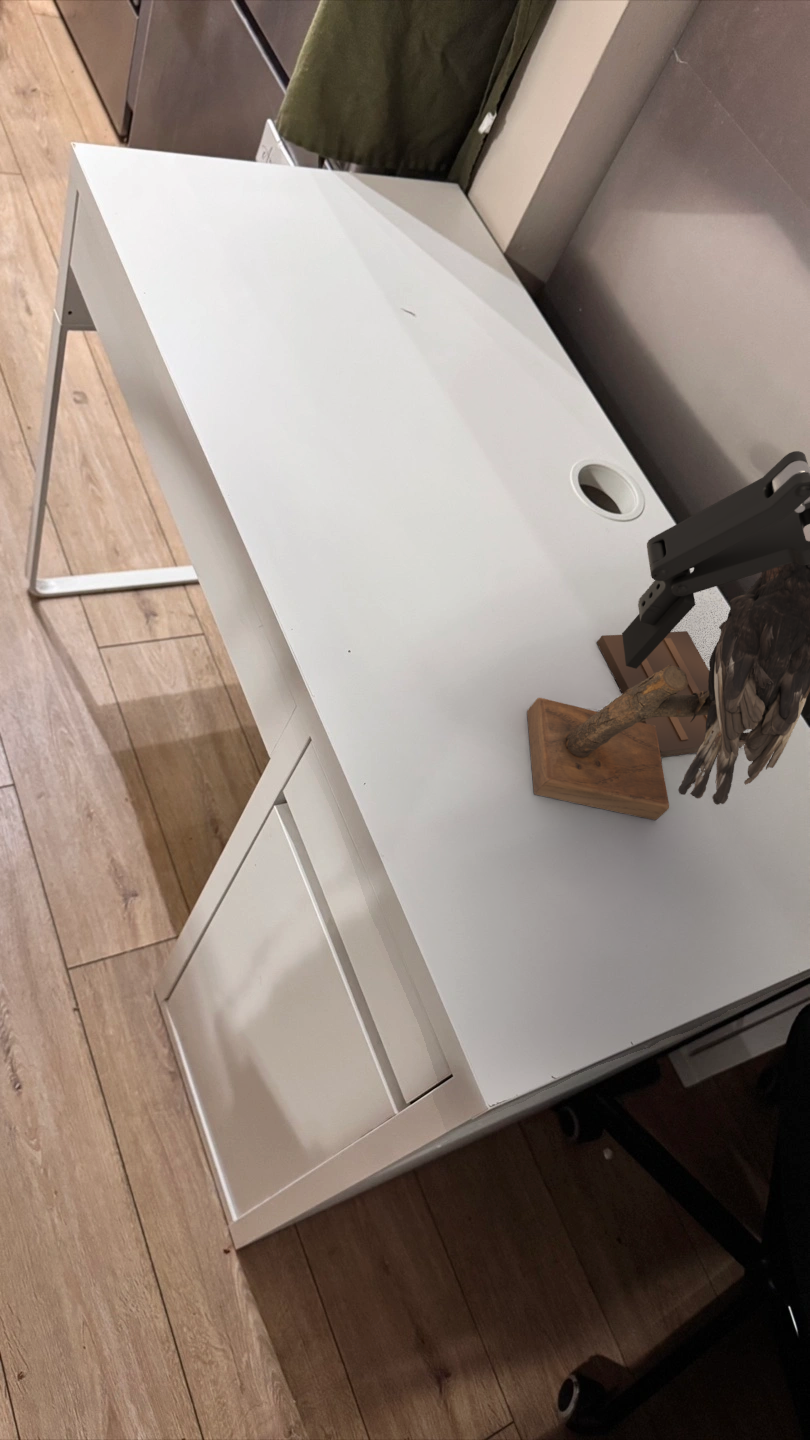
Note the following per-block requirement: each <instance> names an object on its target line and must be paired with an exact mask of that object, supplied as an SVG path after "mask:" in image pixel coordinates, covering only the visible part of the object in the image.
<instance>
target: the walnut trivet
mask: <svg viewBox="0 0 810 1440" xmlns="http://www.w3.org/2000/svg"><path fill="white" fill-rule="evenodd" d="M596 644H597V646H598V649H599V650H600V652H601V654H602V656H603V657H604V660H605V662H606V664H607V666H608V668H609V670H610V672H611V674H612V676H613V678H614V680H615V682H616V684H617V686H618V688H619V690H620V692H621V695H622V694H623V693H624V692H626V690H628V689H630V688H632V687H634V686H635V685H638V684H639V683H641V682H642V681H644V680H645V679H647V678H649V677H651V676H652V675H653V674H655V673H656V672H659V671H661V670H662V669H664V668H665V667H667V666H668V665H671V666H676V667H679V668H680V669H681V670H682V671H684V672H685V673H686V675H687V680H688V685H687V687H686V688H685V689H684V690H682V691H679V692H677V694H678V695H692V694H693V693H695V692H698V693H699V694H700V692H701V691H704V692H705V691H709V690H708V685H709V684H708V678H709V670H710V669H709V668H708V666H707V665H706V662H705V661H704V659H703V657H702V655H701V654H700V652H699V650H698V647H697V646H696V644H695V643H694V641H693V639H692V637H691V635H690V633H689V631H687V630H686V631H681V630H680V631H671V632H670V633H669V634H668V635H667V636H666V637H665V638H664V639H663V640H662V641H661V643H660V644H659V645H658V646H657V647H656V648H655V649H654V650H653V651H652V652H651V653H650V655H649V656H648V657H647V658H646V659H645V660H644V661H643V662H642V663H641V664H640V665H639V666H638V668H637V669H635V668H632V667H628V666H626V662H625V653H624V645H623V636H622V634H605V635H601V636H600V638H599V639H597V641H596ZM706 693H707V692H706ZM706 693H704V694H706ZM693 717H694V716H693ZM693 717H652V718H649V719H647V720H645V721H641V722H642V723H646V724H650V725H654V726H656V732H657V738H658V744H659V749H660V755H661V758H665V757H674V756H680V755H681V756H682V755H687V754H688V755H689V754H697V752H698V750H699V748H700V746H701V745H702V744H703V742H704V740H705V731H706V721H707V715H700V716H696V717H695V718H694V720H693V721H692V722H690V721H691V720H692V718H693ZM713 732H714V731H712V733H711V734H713ZM742 733H744V732H742ZM720 737H721V733H720V732H719V734H718V737H717V738H716V740H715V746H714V747H713V746H712V747H713V749H715V747H716V745H717V743H718V742H719V739H720ZM708 743H709V741H708ZM744 745H745V742H744V741H742V740H740V743H739V748H742V747H744Z"/></svg>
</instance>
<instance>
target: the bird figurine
mask: <svg viewBox="0 0 810 1440" xmlns="http://www.w3.org/2000/svg"><path fill="white" fill-rule="evenodd" d="M729 604H730V609H729V611H728V614H727V617H726V620H725V621H723V622H722V623H721V624H720V625H719V626H718V629H719V630H720V635H719V637H718V641H717V642H716V645H715V646H714V648H713V651H712V652H711V655H710V656H709V663H708V664H709V666H708V667H709V669H708V670H709V678H708V684H709V685H708V690H709V691H705V692H704V691H701V692H700V694H699V693H698V692H695V693H693V694H692V695H678V694H677V692H679V691H682V690H684V689H685V688H686V687H687V685H688V680H687V675H686V673H685V672H684V671H682V670H681V669H680V668H679V667H676V666H671V665H668V666H667V667H665V668H664V669H662V670H661V671H659V672H656V673H655V674H653V675H652V676H651V677H649V678H647V679H645V680H644V681H642V682H641V683H639V684H638V685H635V686H634V687H632V688H630V689H628V690H626V692H624V693H623V694H622V693H621V695H619V696H618V697H616V698H615V699H613V700H612V701H611V702H610V703H608V704H607V705H605V706H604V707H602V708H601V709H600V710H599V711H596V710H592V709H590V708H589V709H588V708H585V707H580V706H576V705H572V704H568V703H563V702H559V701H556V700H552V699H548V698H543V697H537V698H536V699H535V701H534V702H533V703H532V704H531V705H530V706H529V708H528V709H527V710H526V715H527V717H526V718H527V726H528V727H527V728H528V740H529V752H530V760H531V761H530V763H531V774H532V787H533V788H532V789H533V795H535V796H539V797H540V796H542V797H545V798H549V799H553V800H560V801H565V802H568V803H573V804H578V805H583V806H588V807H592V808H597V809H601V810H606V811H610V812H615V813H621V814H626V815H628V816H629V815H630V816H634V817H638V818H643V819H647V820H648V819H649V820H651V821H652V820H653V821H657V820H658V819H659V818H660V817H661V816H663V815H664V814H665V813H666V812H667V811H669V810H670V802H669V795H668V790H667V785H666V778H665V773H664V767H663V762H662V761H663V760H662V757H661V755H660V749H659V744H658V738H657V732H656V726H654V725H650V724H646V723H642V722H641V721H645V720H647V719H649V718H652V717H693V716H694V717H693V718H692V720H691V721H690V722H692V721H693V720H694V718H695V717H696V716H700V715H707V721H706V731H705V740H704V742H703V744H702V745H701V746H700V748H699V750H698V752H697V753H696V755H695V756H694V758H693V760H692V761H691V763H690V765H689V766H688V769H687V770H686V772H685V773H684V776H683V779H682V781H681V784H680V785H679V787H678V789H677V790H678V793H679V795H682V796H686V794H687V792H688V791H689V789H690V788H691V787H692V785H693V784H694V787H693V788H692V790H691V792H689V794H690V795H691V796H692V797H694V798H695V799H697V800H699V799H701V798H703V796H704V794H705V792H706V791H707V786H708V782H709V780H710V777H711V772H712V770H713V767H714V765H716V775H715V780H714V781H715V784H716V787H715V789H716V791H715V792H714V794H713V795H712V796H711V799H712V802H713V803H714V805H716V806H718V805H724V804H726V802H727V801H728V799H729V794H730V792H731V788H732V783H733V778H734V771H735V764H736V761H737V760H738V756H739V751H740V750H739V749H740V747H739V743H740V740H742V741H744V742H745V744H744V745H743V750H744V754H745V758H746V760H747V761H748V762H751V763H750V764H749V765H748V767H747V776H748V778H746V779H745V780H744V782H743V783H744V785H749V784H750V783H752V782H753V781H754V780H755V779H757V777H758V776H759V775H760V773H761V772H762V771H763V770H764V769H765V770H768V769H769V768H771V769H773V768H774V767H775V766H776V765H777V763H778V761H779V759H780V757H781V755H782V754H783V753H784V750H785V748H786V747H787V744H788V743H789V740H790V738H791V736H792V734H793V731H794V729H795V727H796V725H797V723H798V721H799V719H800V716H801V714H802V713H803V710H802V709H803V707H804V704H805V701H806V698H807V696H808V694H809V692H810V564H809V565H799V564H798V563H795V562H793V563H789V564H786V565H783V566H780V567H777V568H773V569H770V570H767V571H764V572H761V574H760V576H759V577H758V579H757V580H756V581H755V582H754V584H753V585H752V586H751V587H750V588H748V589H747V591H746V592H745V593H744V594H741V595H738V596H735V597H734V598H732V599H731V600H729ZM706 692H707V693H706ZM704 693H706V694H704ZM747 730H750V731H748V732H746V731H747ZM712 731H714V732H713V734H711V733H712ZM719 732H720V733H721V737H720V739H719V742H718V743H717V745H716V747H715V749H713V747H714V746H715V740H716V738H717V737H718V734H719ZM742 732H743V733H742ZM708 741H709V743H708ZM712 746H713V747H712ZM715 763H716V764H715Z"/></svg>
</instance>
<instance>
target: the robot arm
mask: <svg viewBox="0 0 810 1440" xmlns="http://www.w3.org/2000/svg"><path fill="white" fill-rule="evenodd" d="M809 525H810V466H809V463H808V459H807V456H806V454H805V453H804V452H803V451H800V450H796V451H790V452H788V453H787V454H785V456H783V457H782V458H781V460H779V461H778V462H777V463H776V464H775V465H774V466H772V468H771V469H770V470H769V471H767V472H766V473H765V474H764V476H762V477H761V478H759V479H758V480H755V481H754V482H752V483H749V484H748V485H746V486H744V487H743V488H740V489H738V490H737V491H734V492H733V493H731V494H730V495H728V496H726V497H724V498H723V499H720V500H718V501H717V502H715V503H713V504H711V505H709V506H707V507H706V508H704V509H702V510H700V511H698V512H696V513H695V514H693V515H690V516H689V517H688V518H686V519H683V520H682V521H680V522H678V523H677V524H675V525H672V526H671V527H669V528H667V529H665V530H664V531H661V532H660V533H658V534H657V535H655V536H653V537H651V538H649V539H648V540H647V542H646V551H647V558H648V565H649V573H650V576H651V579H653V582H652V583H651V584H650V585H649V587H648V588H647V589H646V590H645V592H644V593H643V594H642V595H641V596H640V597H639V599H638V603H637V606H638V614H637V615H636V616H635V618H634V619H633V620H632V622H631V623H630V624H629V625H628V626H627V627H626V628H625V629H624V631H623V632H622V633H621V635H622V636H623V645H624V653H625V662H626V666H628V667H632V668H635V669H637V668H638V666H639V665H640V664H641V663H642V662H643V661H644V660H645V659H646V658H647V657H648V656H649V655H650V653H651V652H652V651H653V650H654V649H655V648H656V647H657V646H658V645H659V644H660V643H661V641H662V640H663V639H664V638H665V637H666V636H667V635H668V634H669V633H670V632H673V630H674V629H675V628H676V627H677V625H678V624H680V622H681V621H682V620H683V619H684V618H685V617H686V616H687V615H688V614H689V612H691V611H692V609H693V608H694V607H695V606H696V600H695V594H696V593H699V592H702V591H706V590H709V589H711V588H715V587H719V586H722V585H724V584H728V583H731V582H735V581H738V580H740V579H744V578H747V577H750V576H755V575H758V574H760V573H762V572H764V571H767V570H770V569H773V568H777V567H780V566H783V565H786V564H789V563H793V562H795V563H798V564H799V565H809V564H810V540H808V539H807V538H806V534H805V530H804V529H805V527H807V526H809ZM691 569H693V571H691ZM802 714H803V716H804V718H806V719H809V720H810V692H809V694H808V696H807V698H806V701H805V704H804V707H803V709H802Z"/></svg>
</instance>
